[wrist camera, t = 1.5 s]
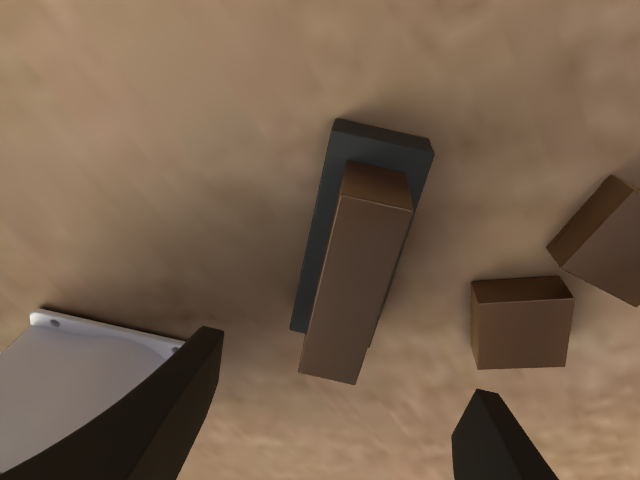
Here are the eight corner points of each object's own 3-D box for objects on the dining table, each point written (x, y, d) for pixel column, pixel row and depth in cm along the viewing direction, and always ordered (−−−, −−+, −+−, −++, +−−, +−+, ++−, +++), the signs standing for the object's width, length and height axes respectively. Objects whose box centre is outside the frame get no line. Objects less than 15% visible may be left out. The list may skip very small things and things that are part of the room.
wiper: (295, 305, 23) (274, 385, 18) (335, 117, 18) (321, 158, 13) (369, 322, 23) (368, 406, 18) (429, 138, 18) (449, 187, 13)
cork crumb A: (470, 344, 23) (477, 370, 21) (470, 281, 21) (478, 303, 20) (552, 341, 22) (565, 367, 21) (559, 275, 21) (575, 298, 19)
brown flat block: (545, 247, 20) (560, 268, 18) (611, 173, 18) (634, 189, 16) (616, 284, 20) (636, 308, 19) (687, 216, 19) (716, 236, 17)
